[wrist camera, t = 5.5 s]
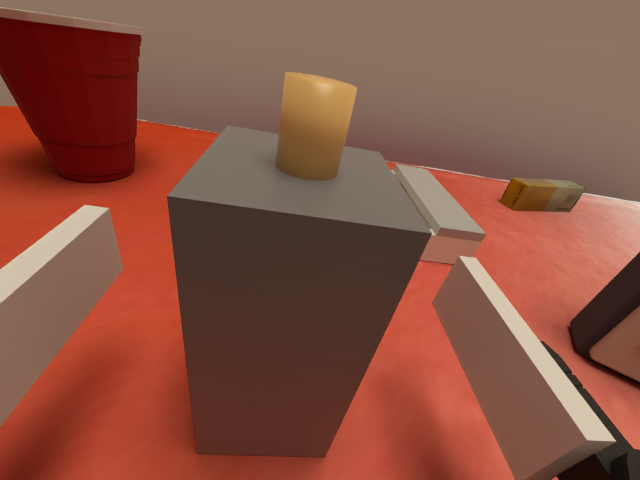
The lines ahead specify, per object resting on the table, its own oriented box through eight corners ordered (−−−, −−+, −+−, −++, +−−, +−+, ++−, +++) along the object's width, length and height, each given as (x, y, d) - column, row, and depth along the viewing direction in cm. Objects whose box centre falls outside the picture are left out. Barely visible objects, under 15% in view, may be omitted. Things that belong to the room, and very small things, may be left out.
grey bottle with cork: (196, 453, 11) (152, 66, 4) (225, 342, 15) (229, 50, 8) (324, 457, 12) (481, 131, 5) (319, 349, 16) (399, 87, 9)
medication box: (553, 204, 45) (570, 180, 43) (570, 212, 43) (588, 187, 41) (497, 202, 41) (512, 175, 39) (512, 212, 39) (529, 184, 37)
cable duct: (178, 229, 22) (174, 188, 20) (221, 163, 34) (221, 133, 32) (467, 265, 26) (486, 233, 24) (416, 194, 37) (427, 169, 35)
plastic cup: (112, 141, 33) (85, 8, 27) (186, 172, 30) (176, 32, 24) (-15, 164, 25) (-102, -23, 18) (71, 210, 22) (6, 8, 15)
